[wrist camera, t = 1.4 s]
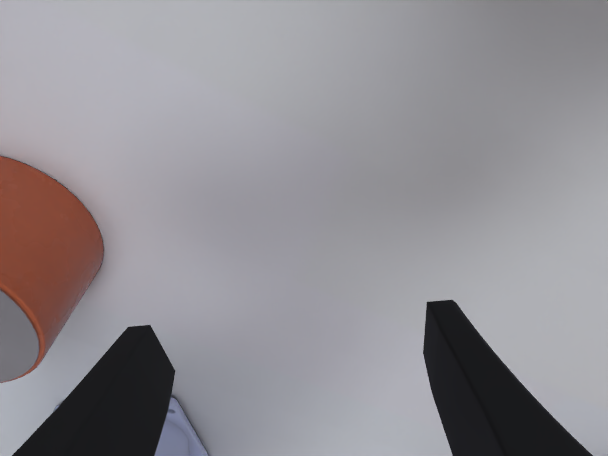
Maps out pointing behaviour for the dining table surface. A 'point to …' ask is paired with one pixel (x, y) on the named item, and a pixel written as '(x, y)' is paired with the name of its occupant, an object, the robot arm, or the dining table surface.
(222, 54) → the dining table surface
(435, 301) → the robot arm
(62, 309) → the tin can
